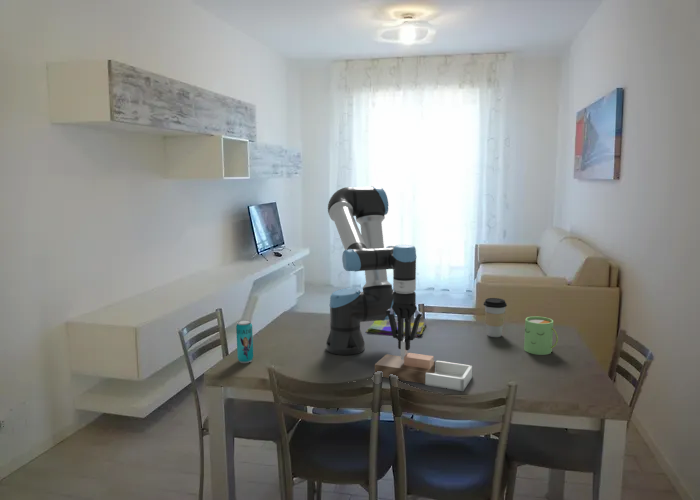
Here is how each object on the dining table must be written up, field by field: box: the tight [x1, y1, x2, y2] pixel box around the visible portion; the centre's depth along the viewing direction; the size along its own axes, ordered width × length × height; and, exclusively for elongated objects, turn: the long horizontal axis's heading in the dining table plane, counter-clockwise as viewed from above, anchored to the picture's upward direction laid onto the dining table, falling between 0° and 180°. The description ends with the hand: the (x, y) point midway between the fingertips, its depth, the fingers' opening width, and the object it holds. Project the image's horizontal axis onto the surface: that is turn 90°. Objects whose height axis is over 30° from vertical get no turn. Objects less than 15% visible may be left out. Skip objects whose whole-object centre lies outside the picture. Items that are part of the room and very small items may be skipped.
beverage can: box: [235, 319, 254, 364], centre depth 203 cm, size 6×6×15 cm
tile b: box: [417, 353, 435, 369], centre depth 186 cm, size 4×4×3 cm
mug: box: [523, 315, 559, 356], centre depth 211 cm, size 13×10×12 cm
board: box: [374, 353, 436, 385], centre depth 190 cm, size 18×11×4 cm, turn 65°
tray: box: [424, 360, 474, 392], centre depth 183 cm, size 12×13×4 cm
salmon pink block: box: [404, 352, 422, 367], centre depth 188 cm, size 4×4×3 cm
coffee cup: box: [483, 297, 508, 338], centre depth 230 cm, size 9×9×15 cm
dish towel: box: [365, 320, 427, 338], centre depth 241 cm, size 18×24×3 cm
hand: (404, 358), depth 189 cm, fingers closed
